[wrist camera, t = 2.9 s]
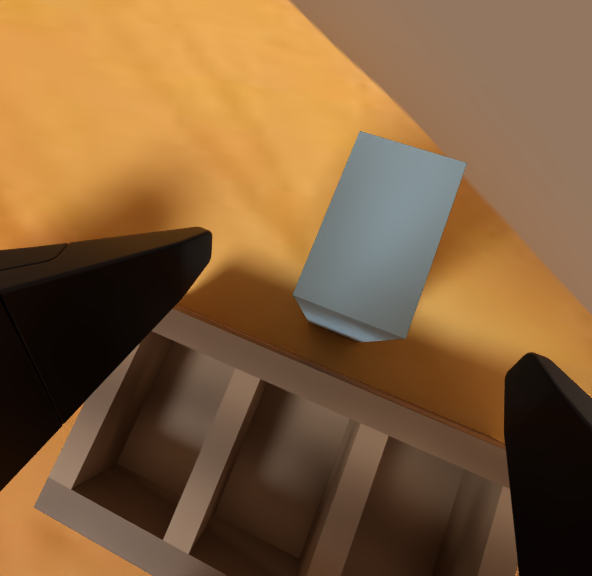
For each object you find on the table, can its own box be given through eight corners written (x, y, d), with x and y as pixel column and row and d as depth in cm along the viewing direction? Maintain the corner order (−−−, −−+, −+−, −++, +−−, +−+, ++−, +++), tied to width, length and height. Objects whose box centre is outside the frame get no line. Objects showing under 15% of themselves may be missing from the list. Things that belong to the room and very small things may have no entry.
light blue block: (358, 342, 17) (405, 338, 8) (309, 322, 18) (292, 294, 8) (388, 261, 18) (467, 162, 8) (339, 244, 18) (360, 130, 9)
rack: (431, 647, 15) (472, 759, 11) (96, 468, 17) (30, 505, 13) (493, 438, 16) (549, 468, 12) (173, 303, 19) (134, 292, 15)
